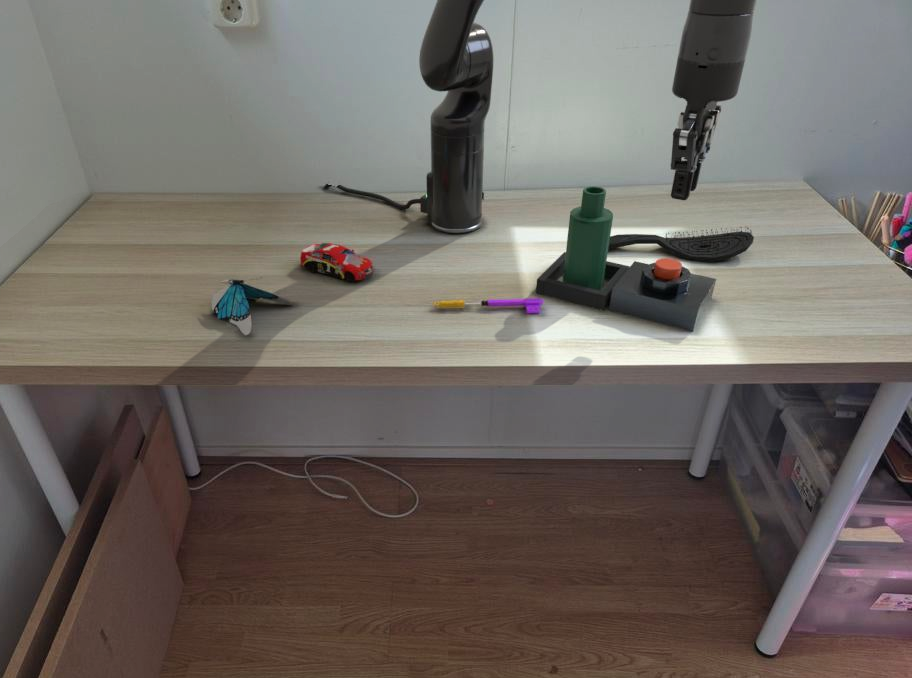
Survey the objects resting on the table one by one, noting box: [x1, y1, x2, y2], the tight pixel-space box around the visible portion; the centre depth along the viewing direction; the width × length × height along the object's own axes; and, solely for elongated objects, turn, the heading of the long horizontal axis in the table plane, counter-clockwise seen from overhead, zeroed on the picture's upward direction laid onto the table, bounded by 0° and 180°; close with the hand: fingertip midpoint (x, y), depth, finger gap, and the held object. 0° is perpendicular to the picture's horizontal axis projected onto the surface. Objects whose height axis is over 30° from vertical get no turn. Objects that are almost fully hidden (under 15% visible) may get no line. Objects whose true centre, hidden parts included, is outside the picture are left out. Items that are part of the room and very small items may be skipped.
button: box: [653, 257, 683, 279], centre depth 100 cm, size 4×4×2 cm
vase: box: [562, 185, 614, 291], centre depth 105 cm, size 6×6×16 cm
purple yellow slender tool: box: [434, 297, 544, 314], centre depth 104 cm, size 3×1×16 cm
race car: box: [299, 242, 374, 283], centre depth 116 cm, size 13×5×4 cm, turn 57°
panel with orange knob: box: [608, 260, 717, 333], centre depth 102 cm, size 12×10×6 cm
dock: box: [535, 251, 631, 311], centre depth 108 cm, size 11×11×2 cm
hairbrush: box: [608, 226, 755, 263], centre depth 117 cm, size 8×4×25 cm
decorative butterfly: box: [211, 276, 294, 336], centre depth 106 cm, size 10×6×10 cm
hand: (683, 193), depth 94 cm, fingers open, 3 cm apart
